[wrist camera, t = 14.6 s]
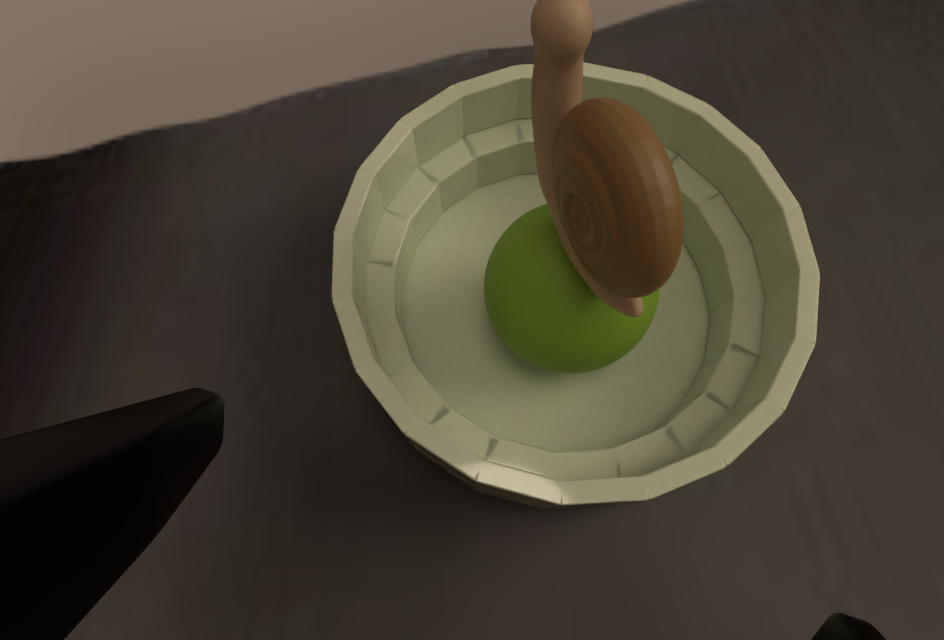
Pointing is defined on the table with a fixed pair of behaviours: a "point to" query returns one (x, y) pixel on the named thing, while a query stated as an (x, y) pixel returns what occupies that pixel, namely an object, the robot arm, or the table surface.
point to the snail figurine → (584, 216)
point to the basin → (571, 394)
